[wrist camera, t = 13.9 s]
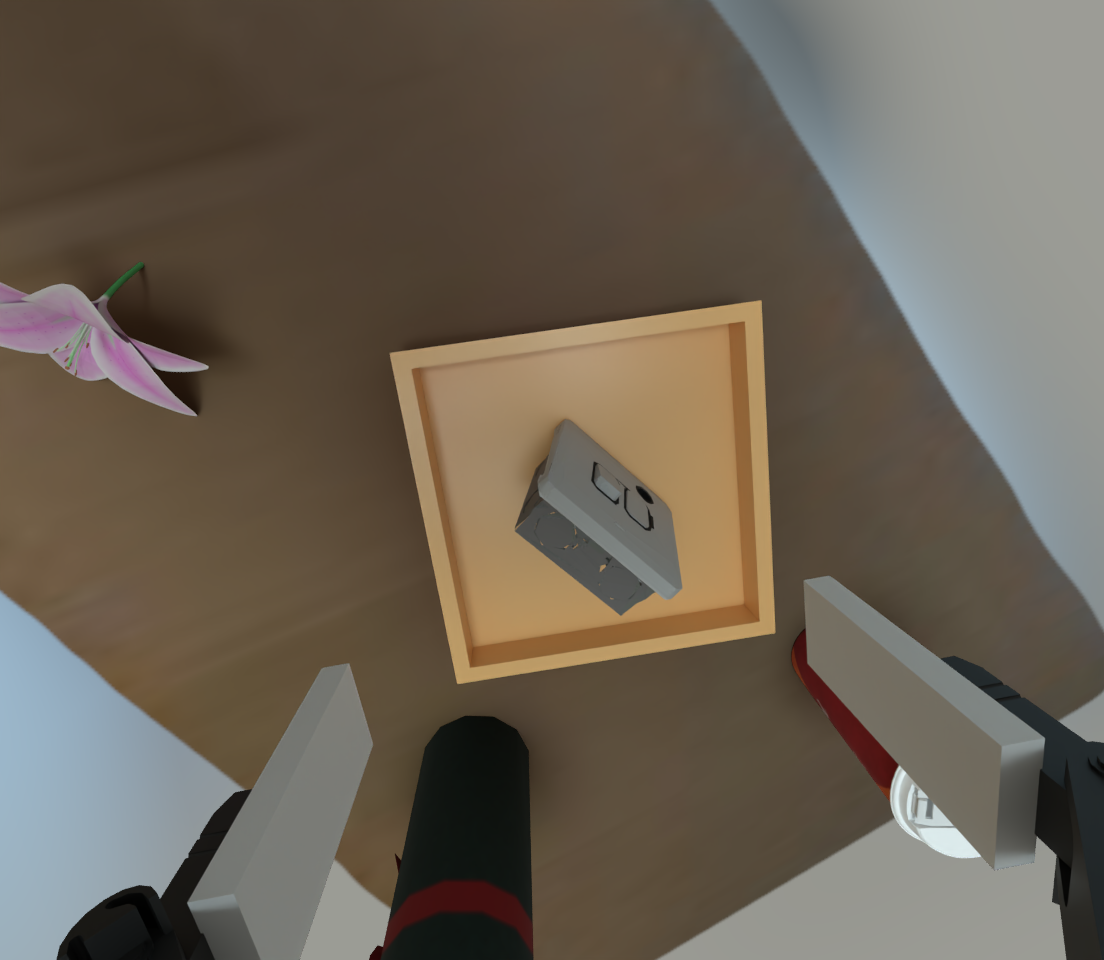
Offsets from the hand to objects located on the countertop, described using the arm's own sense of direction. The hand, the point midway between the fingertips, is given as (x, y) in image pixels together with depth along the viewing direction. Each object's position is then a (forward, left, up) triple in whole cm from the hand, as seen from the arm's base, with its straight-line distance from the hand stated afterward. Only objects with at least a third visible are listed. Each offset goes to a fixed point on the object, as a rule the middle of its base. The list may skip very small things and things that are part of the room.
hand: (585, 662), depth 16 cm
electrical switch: (+1, +3, -21) cm, 21 cm away
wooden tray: (+1, +3, -21) cm, 21 cm away
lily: (-12, -23, -22) cm, 34 cm away
